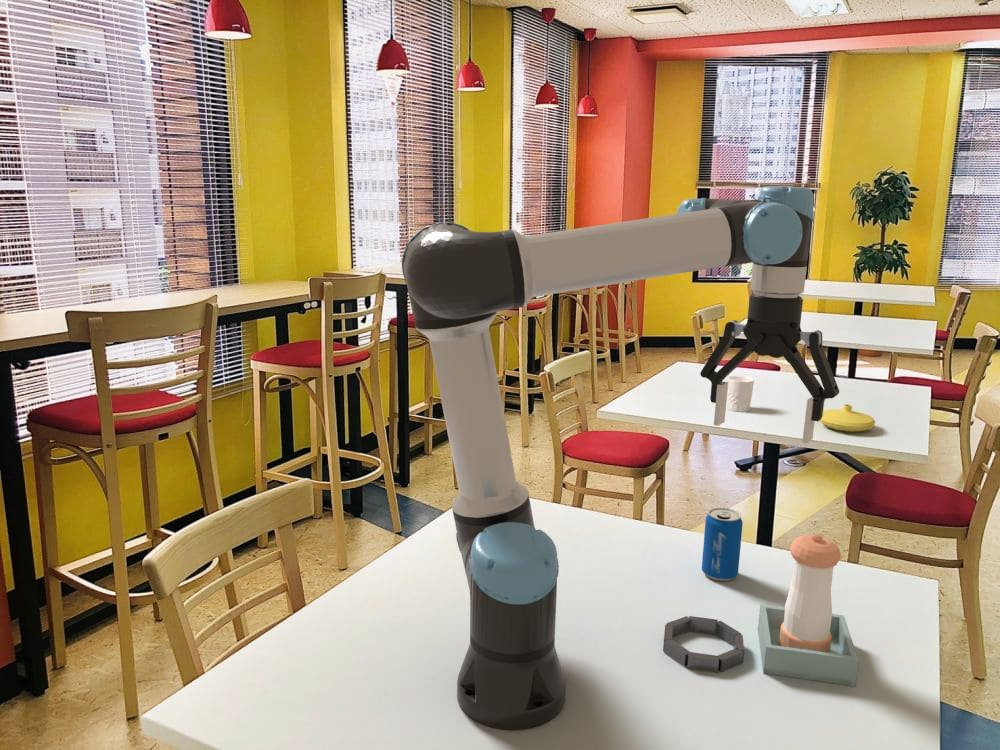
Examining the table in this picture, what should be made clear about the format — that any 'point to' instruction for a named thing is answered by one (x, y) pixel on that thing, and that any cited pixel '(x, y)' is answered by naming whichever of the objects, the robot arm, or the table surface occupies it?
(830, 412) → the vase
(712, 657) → the collar
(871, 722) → the table surface
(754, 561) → the table surface
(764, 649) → the bin
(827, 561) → the salt shaker
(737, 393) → the white cup
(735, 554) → the beverage can
